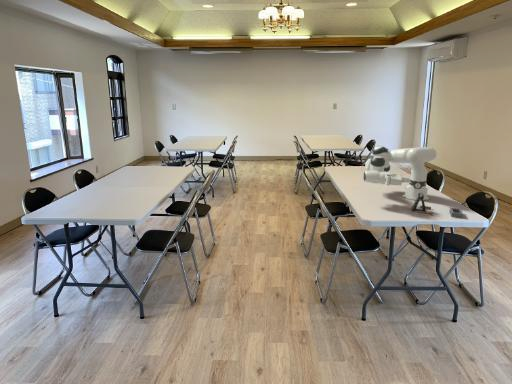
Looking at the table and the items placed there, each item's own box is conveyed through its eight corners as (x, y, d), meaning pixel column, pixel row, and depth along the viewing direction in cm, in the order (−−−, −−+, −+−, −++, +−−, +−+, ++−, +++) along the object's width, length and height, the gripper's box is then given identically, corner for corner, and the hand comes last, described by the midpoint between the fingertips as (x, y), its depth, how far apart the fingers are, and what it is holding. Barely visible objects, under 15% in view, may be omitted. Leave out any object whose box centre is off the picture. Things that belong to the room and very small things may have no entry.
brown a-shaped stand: (425, 210, 262) (427, 193, 259) (426, 212, 256) (428, 195, 253) (411, 208, 265) (413, 191, 262) (412, 210, 259) (414, 193, 256)
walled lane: (419, 207, 267) (420, 205, 267) (430, 208, 265) (431, 206, 265) (420, 213, 253) (421, 211, 252) (432, 215, 251) (432, 213, 250)
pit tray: (449, 211, 260) (450, 207, 259) (459, 213, 257) (460, 208, 257) (451, 216, 249) (452, 212, 248) (462, 218, 247) (463, 213, 246)
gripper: (387, 179, 273) (408, 181, 268) (386, 185, 254) (408, 188, 250) (388, 171, 271) (409, 173, 267) (387, 176, 253) (410, 178, 248)
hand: (409, 180), depth 258 cm, fingers open, 2 cm apart
